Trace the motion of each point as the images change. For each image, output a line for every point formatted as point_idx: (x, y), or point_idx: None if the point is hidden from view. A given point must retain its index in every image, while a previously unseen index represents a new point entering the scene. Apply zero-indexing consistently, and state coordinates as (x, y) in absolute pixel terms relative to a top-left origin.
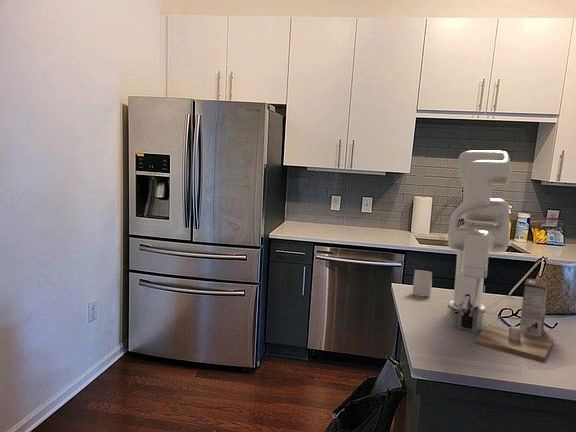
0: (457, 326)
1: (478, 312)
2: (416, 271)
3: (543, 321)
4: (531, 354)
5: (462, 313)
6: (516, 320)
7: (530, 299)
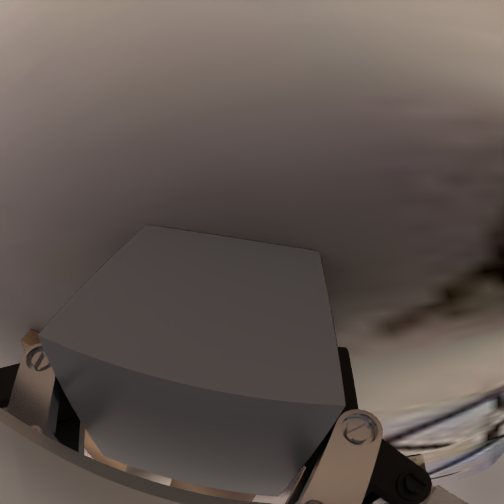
0: (140, 233)
1: (158, 472)
2: None
3: None
4: (85, 448)
5: (26, 357)
6: (464, 433)
7: None
